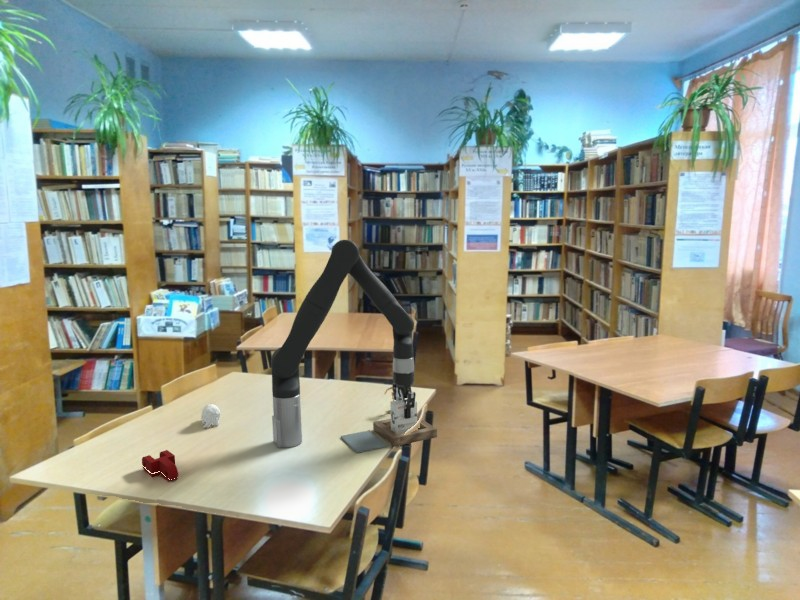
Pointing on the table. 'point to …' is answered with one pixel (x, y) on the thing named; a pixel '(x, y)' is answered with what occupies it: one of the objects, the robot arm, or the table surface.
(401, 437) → the holder
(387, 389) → the figurine
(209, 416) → the white domed ornament
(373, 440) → the mat
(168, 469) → the dark red block
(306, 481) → the table surface
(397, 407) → the ink box
